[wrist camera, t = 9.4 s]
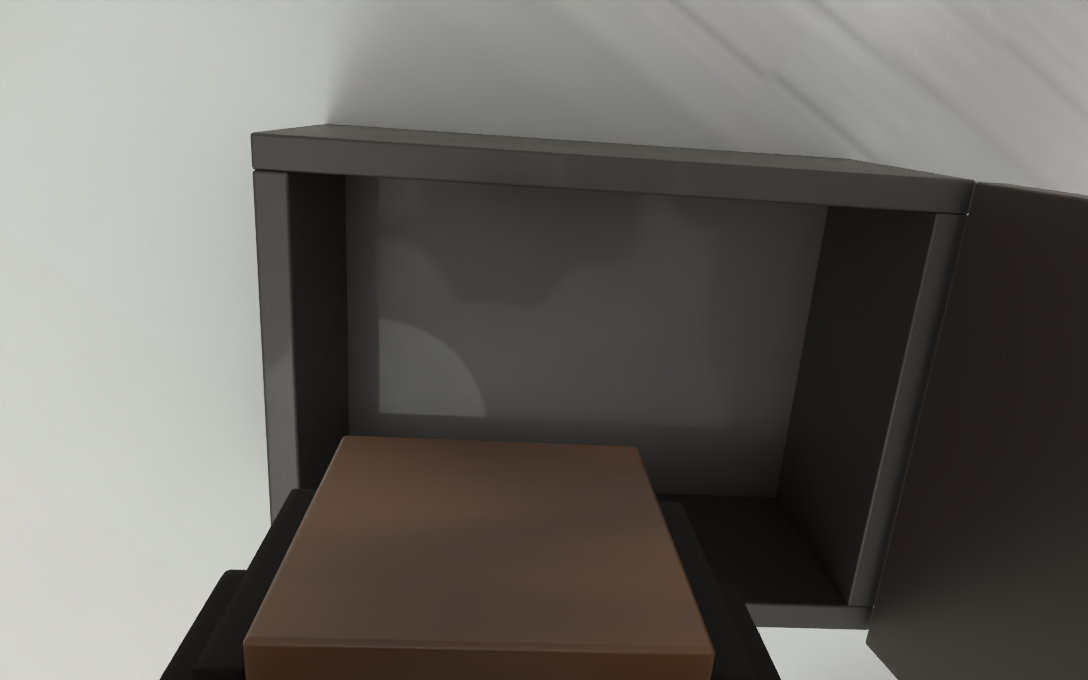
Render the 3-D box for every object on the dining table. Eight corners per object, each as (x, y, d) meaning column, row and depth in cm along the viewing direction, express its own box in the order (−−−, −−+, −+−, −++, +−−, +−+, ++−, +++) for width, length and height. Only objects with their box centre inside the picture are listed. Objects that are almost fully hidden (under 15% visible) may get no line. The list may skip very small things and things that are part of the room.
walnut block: (638, 445, 12) (718, 650, 7) (611, 682, 13) (664, 974, 9) (341, 433, 11) (239, 641, 7) (346, 676, 13) (263, 977, 8)
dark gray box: (332, 489, 26) (274, 614, 20) (323, 123, 23) (249, 132, 16) (785, 506, 27) (869, 630, 21) (850, 159, 24) (977, 180, 17)
